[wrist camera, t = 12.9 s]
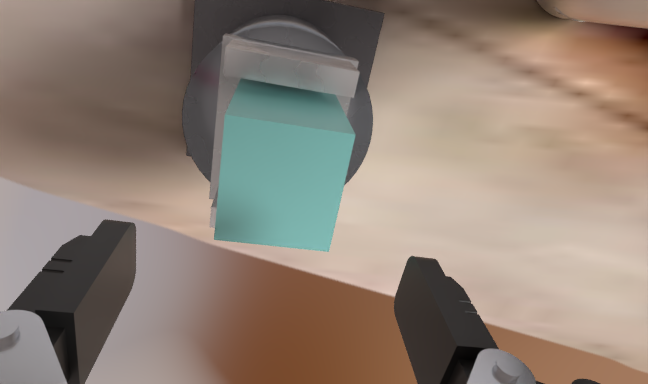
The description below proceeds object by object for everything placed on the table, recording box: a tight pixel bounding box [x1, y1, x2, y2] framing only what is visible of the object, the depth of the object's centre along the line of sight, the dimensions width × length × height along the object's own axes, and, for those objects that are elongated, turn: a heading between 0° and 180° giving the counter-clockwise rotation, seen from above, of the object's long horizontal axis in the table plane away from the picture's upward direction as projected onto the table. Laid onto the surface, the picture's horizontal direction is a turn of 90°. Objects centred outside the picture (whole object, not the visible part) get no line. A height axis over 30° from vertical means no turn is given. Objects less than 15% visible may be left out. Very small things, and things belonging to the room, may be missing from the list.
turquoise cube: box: [214, 78, 356, 252], centre depth 20 cm, size 6×5×7 cm
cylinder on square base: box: [182, 0, 384, 228], centre depth 28 cm, size 14×14×16 cm
